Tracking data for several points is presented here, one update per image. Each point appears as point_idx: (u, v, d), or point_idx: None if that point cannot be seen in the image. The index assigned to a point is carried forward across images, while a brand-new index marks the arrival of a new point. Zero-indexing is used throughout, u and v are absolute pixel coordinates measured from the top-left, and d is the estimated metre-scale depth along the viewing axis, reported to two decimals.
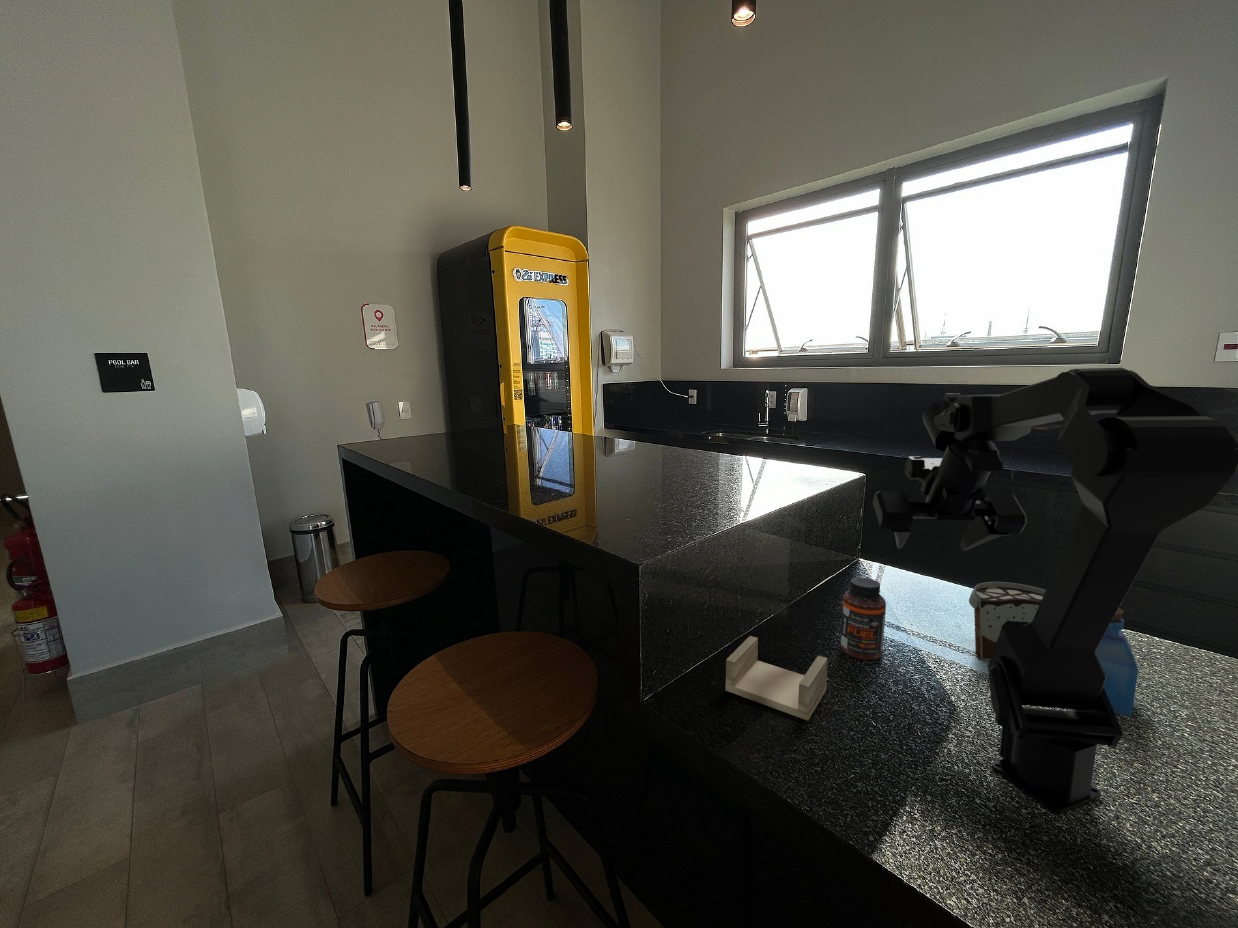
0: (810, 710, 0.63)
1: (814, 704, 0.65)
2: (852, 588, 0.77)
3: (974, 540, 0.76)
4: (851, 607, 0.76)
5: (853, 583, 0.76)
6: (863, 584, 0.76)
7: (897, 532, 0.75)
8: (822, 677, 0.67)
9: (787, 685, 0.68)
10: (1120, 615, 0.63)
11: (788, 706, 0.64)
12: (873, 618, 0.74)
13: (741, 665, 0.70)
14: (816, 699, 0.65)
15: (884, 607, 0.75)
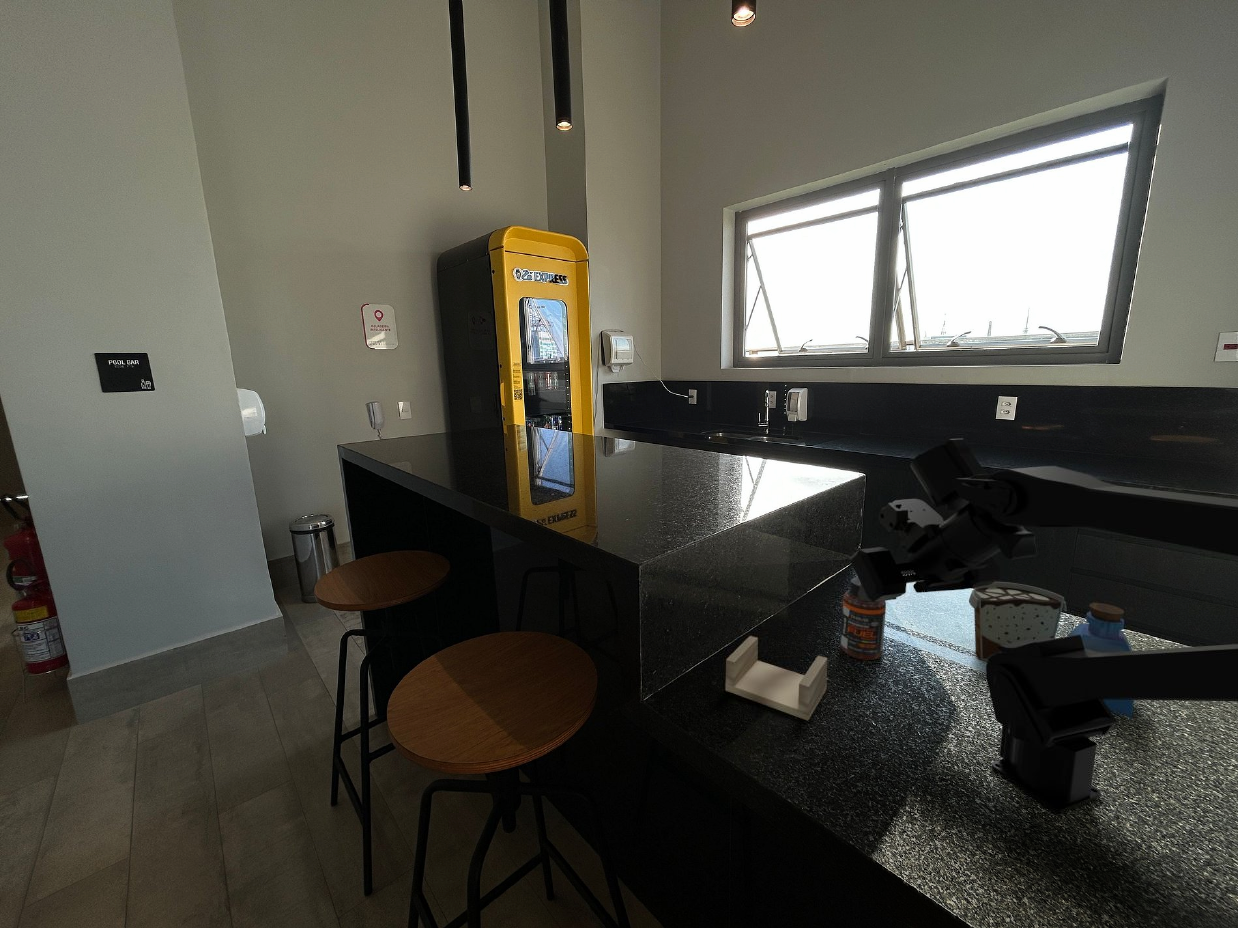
0: (810, 710, 0.63)
1: (814, 704, 0.65)
2: (852, 588, 0.77)
3: (938, 588, 0.69)
4: (851, 607, 0.76)
5: (853, 583, 0.76)
6: None
7: (883, 600, 0.64)
8: (822, 677, 0.67)
9: (787, 685, 0.68)
10: (1120, 615, 0.63)
11: (788, 706, 0.64)
12: (873, 618, 0.74)
13: (741, 665, 0.70)
14: (816, 699, 0.65)
15: (884, 607, 0.75)
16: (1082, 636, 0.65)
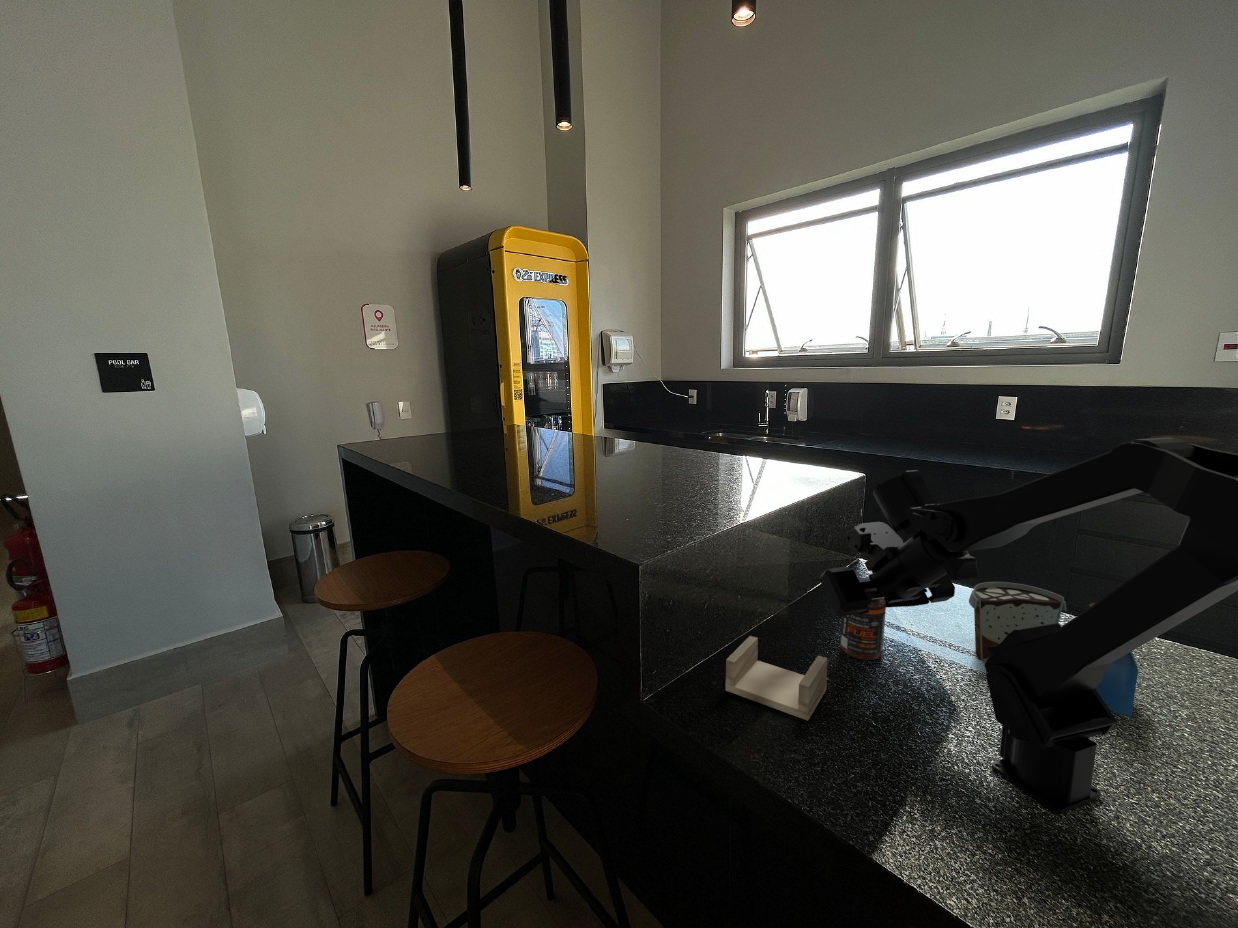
0: (810, 710, 0.63)
1: (814, 704, 0.65)
2: None
3: (893, 604, 0.76)
4: None
5: None
6: None
7: (857, 614, 0.71)
8: (822, 677, 0.67)
9: (787, 685, 0.68)
10: None
11: (788, 706, 0.64)
12: (872, 618, 0.74)
13: (741, 665, 0.70)
14: (816, 699, 0.65)
15: (884, 607, 0.75)
16: None
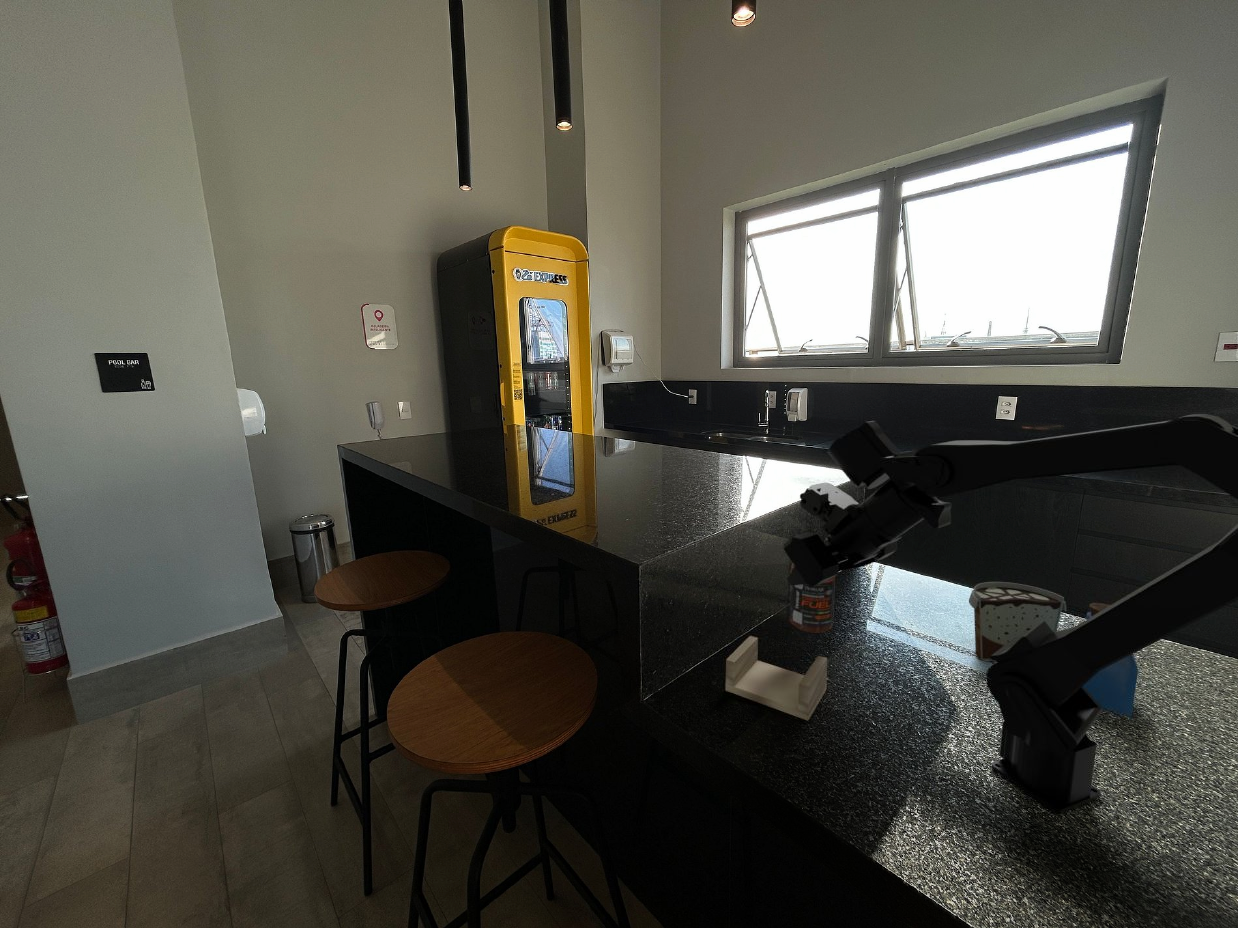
0: (810, 710, 0.63)
1: (814, 704, 0.65)
2: None
3: (840, 568, 0.72)
4: None
5: None
6: None
7: (823, 582, 0.65)
8: (822, 677, 0.67)
9: (787, 685, 0.68)
10: None
11: (788, 706, 0.64)
12: (827, 586, 0.70)
13: (741, 665, 0.70)
14: (816, 699, 0.65)
15: None
16: None
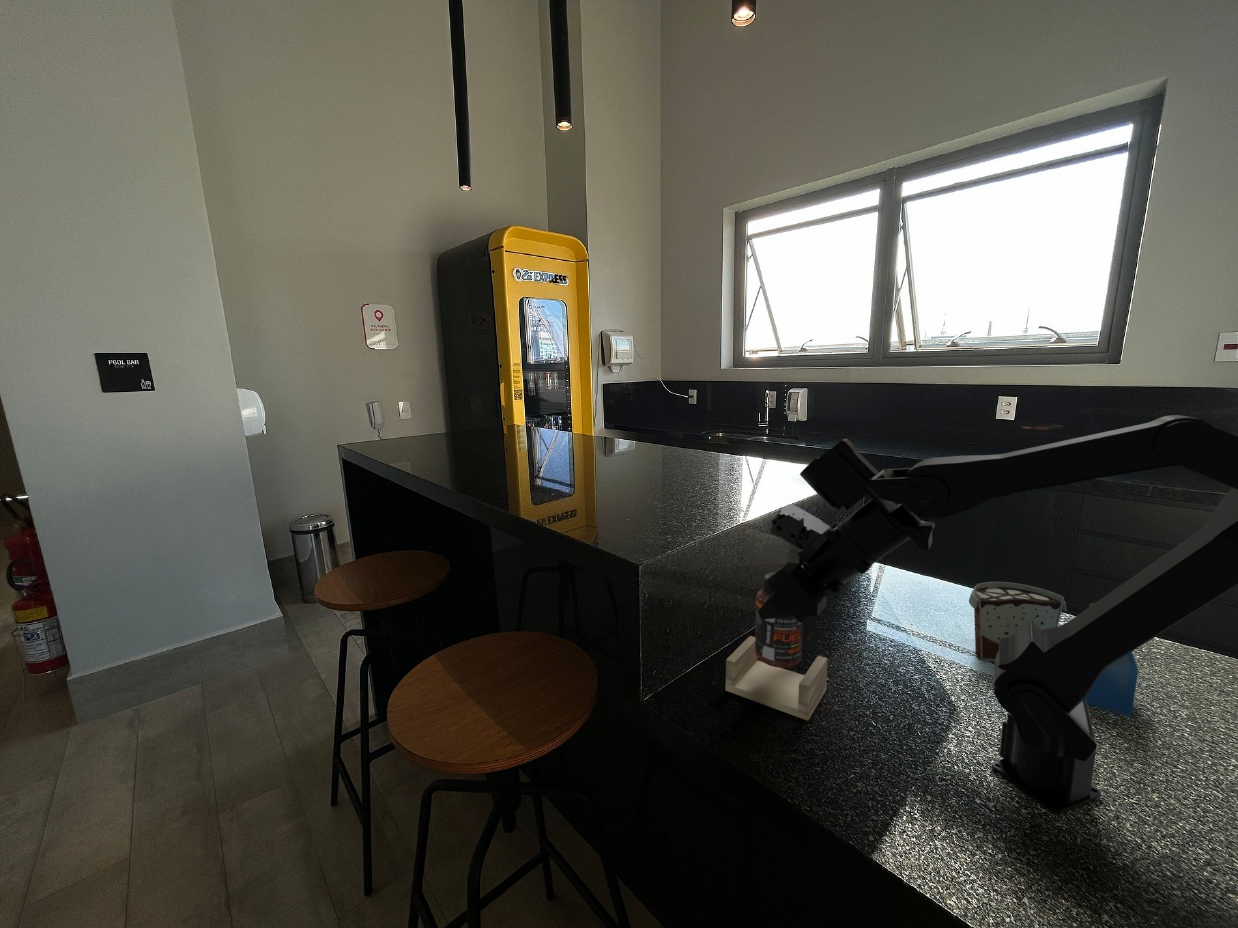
0: (810, 710, 0.63)
1: (814, 704, 0.65)
2: None
3: None
4: None
5: None
6: None
7: None
8: (822, 677, 0.67)
9: (787, 685, 0.68)
10: None
11: (788, 706, 0.64)
12: None
13: (741, 665, 0.70)
14: (816, 699, 0.65)
15: None
16: None
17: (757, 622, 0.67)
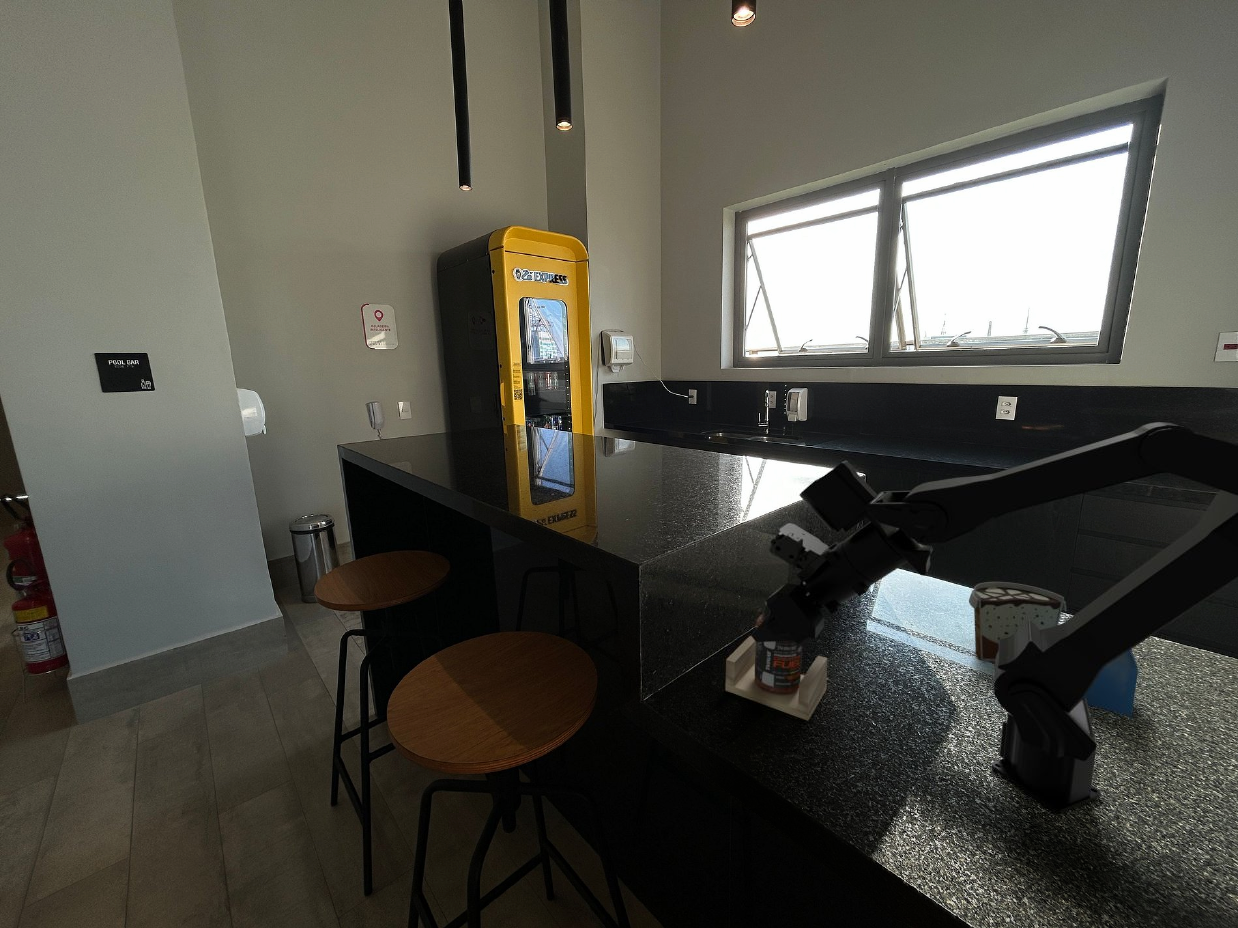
0: (810, 710, 0.63)
1: (814, 704, 0.65)
2: None
3: None
4: None
5: None
6: None
7: None
8: (822, 677, 0.67)
9: None
10: None
11: (788, 706, 0.64)
12: None
13: (741, 665, 0.70)
14: (816, 699, 0.65)
15: None
16: None
17: (757, 648, 0.68)
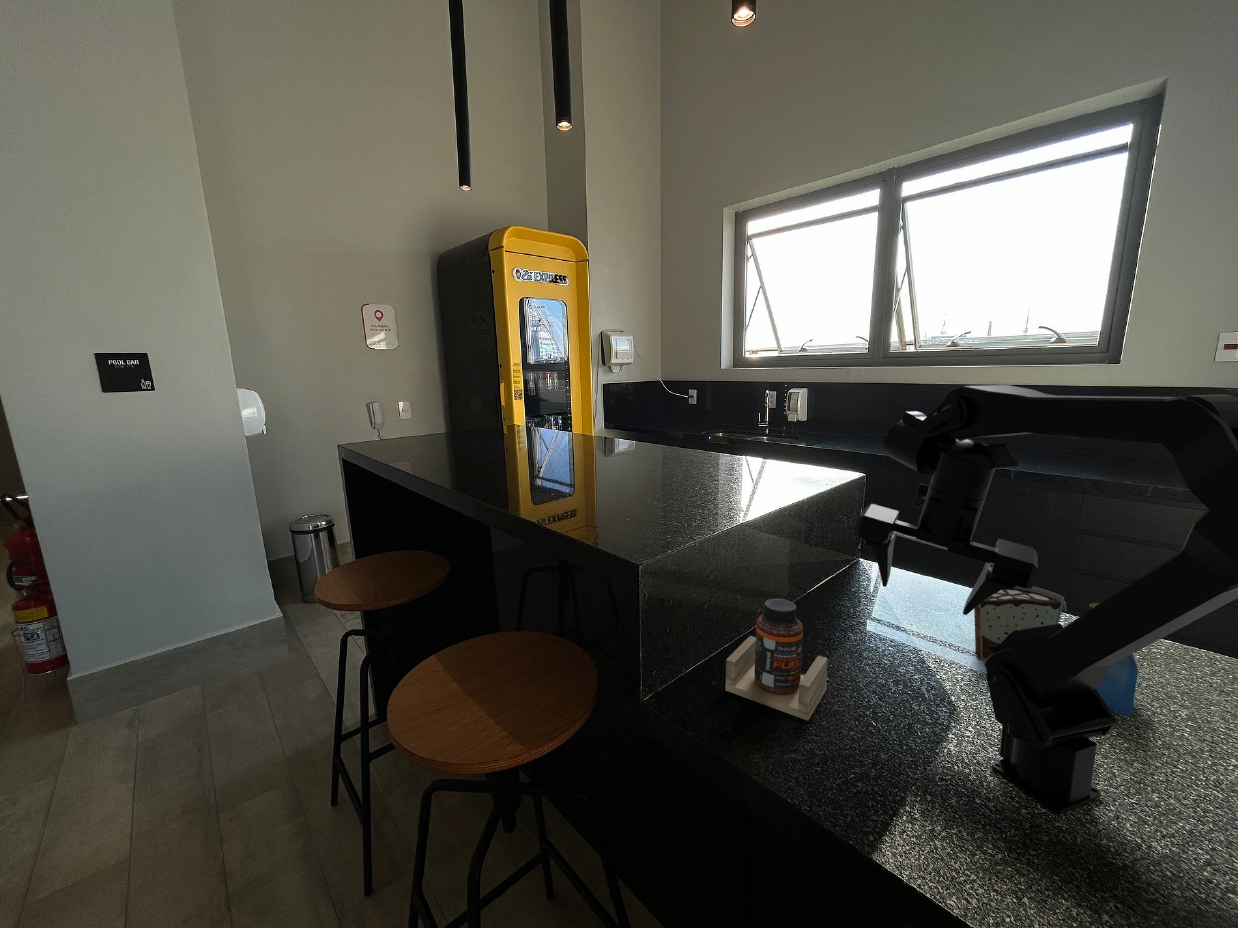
0: (810, 710, 0.63)
1: (814, 704, 0.65)
2: (772, 615, 0.66)
3: (973, 594, 0.61)
4: (778, 639, 0.65)
5: (774, 610, 0.66)
6: (782, 607, 0.66)
7: (872, 546, 0.65)
8: (822, 677, 0.67)
9: None
10: None
11: (788, 706, 0.64)
12: (799, 644, 0.66)
13: (741, 665, 0.70)
14: (816, 699, 0.65)
15: None
16: None
17: (757, 648, 0.68)
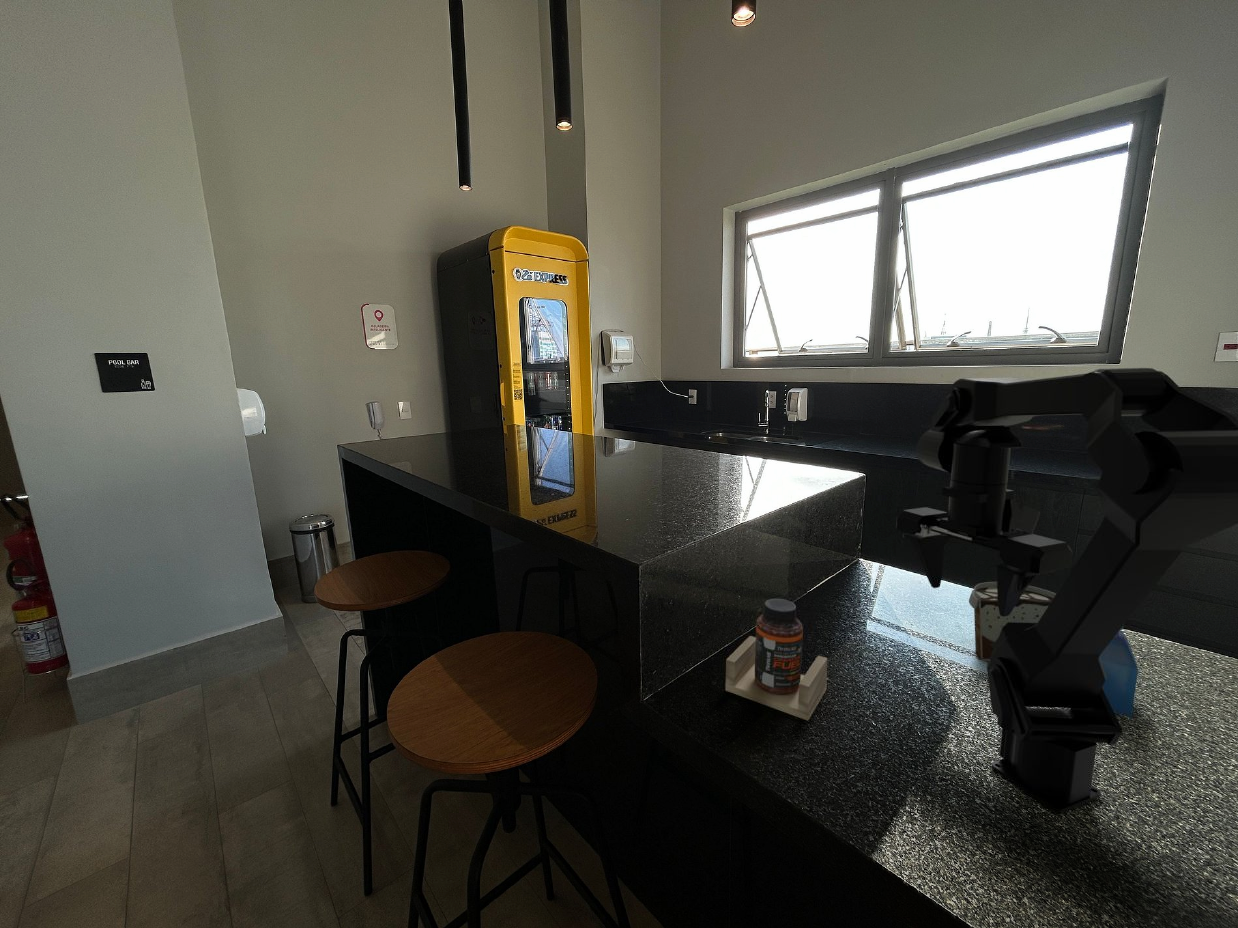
0: (810, 710, 0.63)
1: (814, 704, 0.65)
2: (772, 615, 0.66)
3: None
4: (778, 639, 0.65)
5: (773, 610, 0.66)
6: (782, 607, 0.66)
7: (908, 538, 0.70)
8: (822, 677, 0.67)
9: None
10: None
11: (788, 706, 0.64)
12: (799, 644, 0.66)
13: (741, 665, 0.70)
14: (816, 699, 0.65)
15: None
16: None
17: (757, 648, 0.68)
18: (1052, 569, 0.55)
